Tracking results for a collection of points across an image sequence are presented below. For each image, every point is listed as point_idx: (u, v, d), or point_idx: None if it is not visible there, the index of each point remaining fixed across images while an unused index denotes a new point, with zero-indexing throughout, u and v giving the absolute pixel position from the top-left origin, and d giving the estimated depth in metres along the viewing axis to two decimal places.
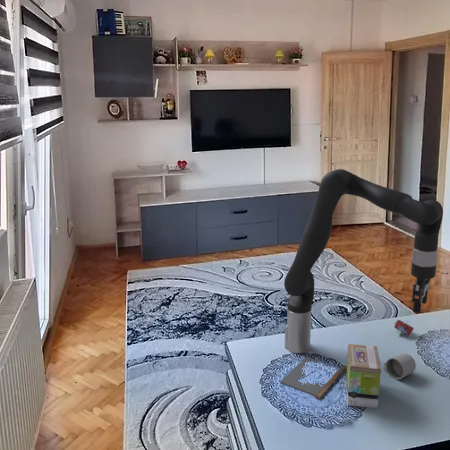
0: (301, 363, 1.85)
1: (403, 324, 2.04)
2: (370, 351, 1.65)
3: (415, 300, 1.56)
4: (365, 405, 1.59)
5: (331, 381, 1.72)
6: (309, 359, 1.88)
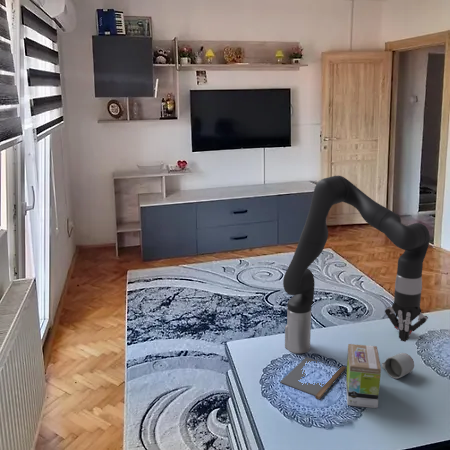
0: (301, 363, 1.85)
1: None
2: (370, 351, 1.65)
3: None
4: (365, 405, 1.59)
5: (331, 381, 1.72)
6: (309, 359, 1.88)
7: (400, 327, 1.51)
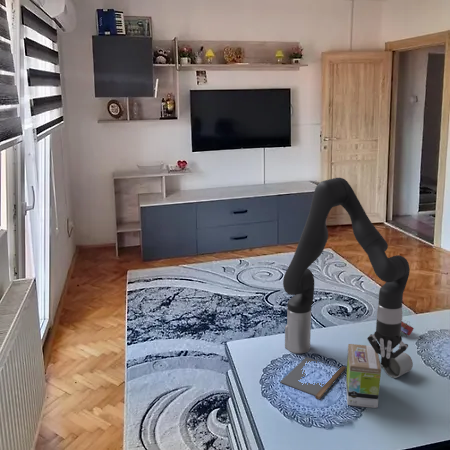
0: (301, 363, 1.85)
1: (403, 324, 2.04)
2: (370, 351, 1.65)
3: None
4: (365, 405, 1.59)
5: (331, 381, 1.72)
6: (309, 359, 1.88)
7: (382, 354, 1.57)
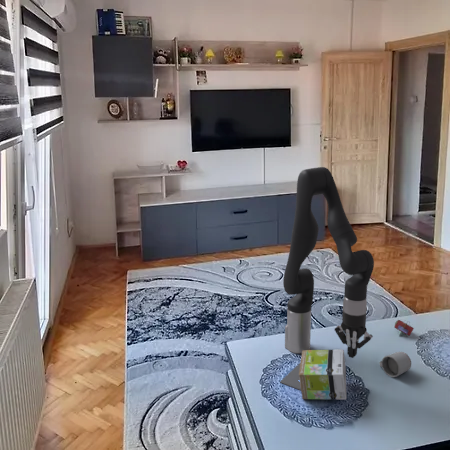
0: None
1: (403, 324, 2.04)
2: None
3: None
4: (342, 384, 1.59)
5: None
6: None
7: (348, 344, 1.64)
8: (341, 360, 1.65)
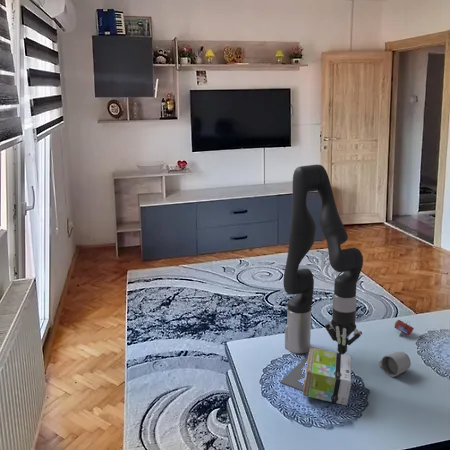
0: (301, 363, 1.85)
1: (403, 324, 2.04)
2: None
3: None
4: (347, 390, 1.59)
5: None
6: None
7: (338, 341, 1.66)
8: (349, 366, 1.65)
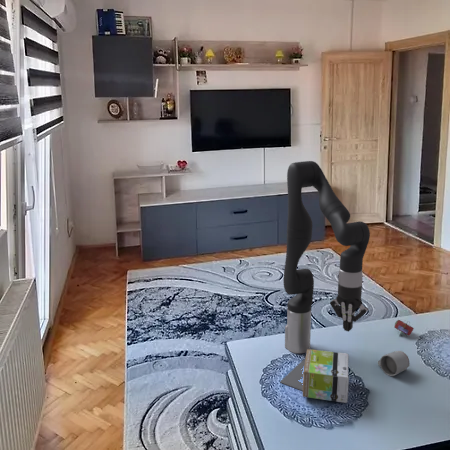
0: (301, 363, 1.85)
1: (403, 324, 2.04)
2: None
3: None
4: (346, 387, 1.59)
5: None
6: None
7: (343, 318, 1.62)
8: (346, 364, 1.65)
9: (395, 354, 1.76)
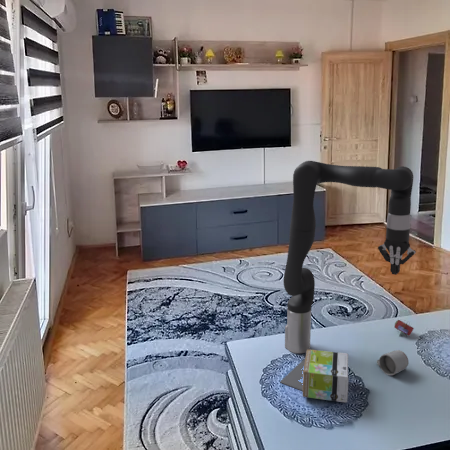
0: (301, 363, 1.85)
1: (403, 324, 2.04)
2: None
3: None
4: (345, 387, 1.59)
5: None
6: None
7: (391, 261, 1.70)
8: (346, 363, 1.65)
9: (394, 353, 1.77)
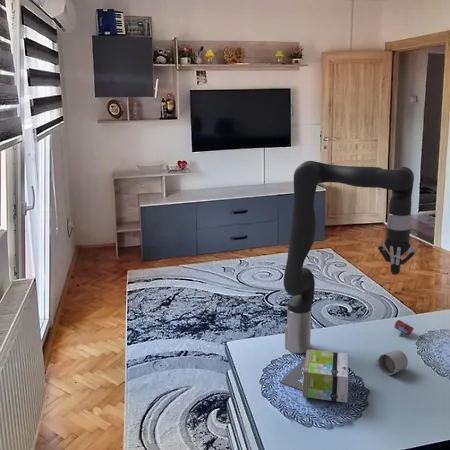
0: (301, 363, 1.85)
1: (403, 324, 2.04)
2: None
3: None
4: (345, 387, 1.59)
5: None
6: None
7: (391, 261, 1.70)
8: (346, 363, 1.65)
9: (393, 353, 1.77)
